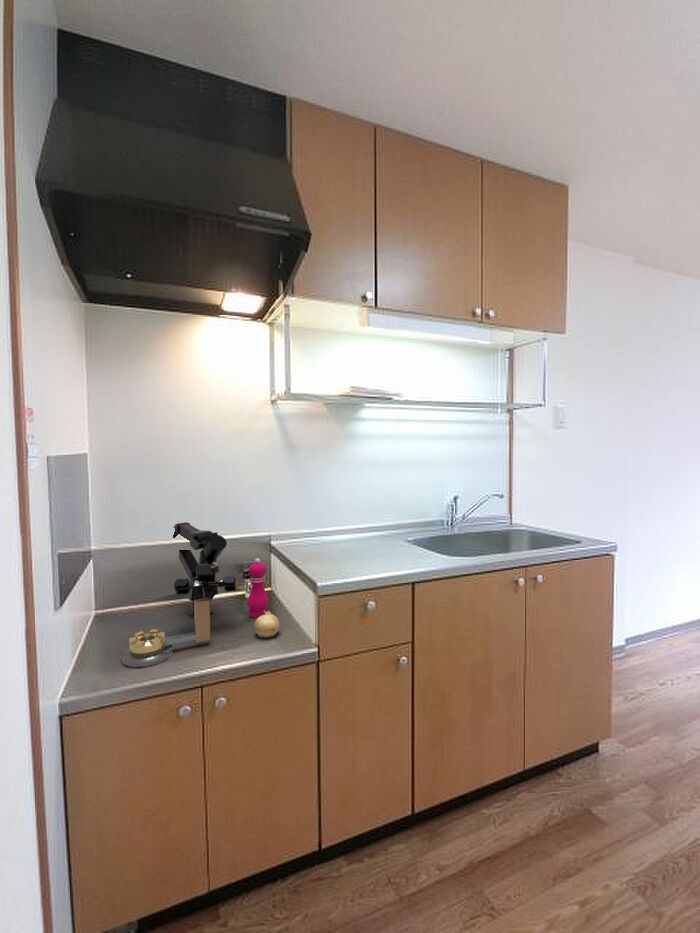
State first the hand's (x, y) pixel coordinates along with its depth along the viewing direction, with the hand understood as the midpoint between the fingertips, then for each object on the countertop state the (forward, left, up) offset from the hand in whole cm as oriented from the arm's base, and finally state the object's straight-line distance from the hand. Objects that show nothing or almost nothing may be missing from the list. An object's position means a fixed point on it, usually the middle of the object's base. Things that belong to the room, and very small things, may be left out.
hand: (204, 610), depth 135 cm
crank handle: (+2, -11, -7) cm, 13 cm away
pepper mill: (-5, +22, -9) cm, 24 cm away
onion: (+11, +16, -9) cm, 21 cm away
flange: (0, -17, -9) cm, 19 cm away
